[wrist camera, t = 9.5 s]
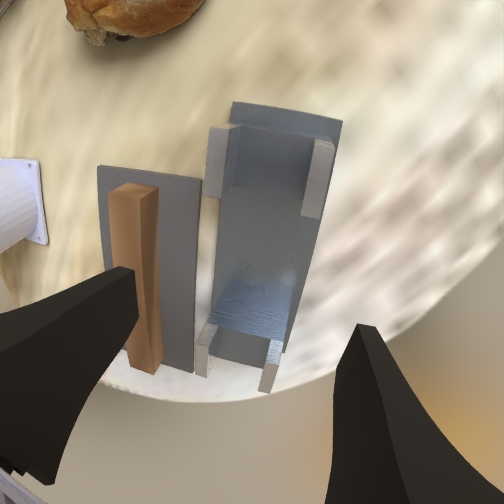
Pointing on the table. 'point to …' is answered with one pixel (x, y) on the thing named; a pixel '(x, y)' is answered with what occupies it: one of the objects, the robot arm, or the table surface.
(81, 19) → the bread roll
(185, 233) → the mat
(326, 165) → the stand
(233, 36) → the table surface
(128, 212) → the rail
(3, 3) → the coffee box
